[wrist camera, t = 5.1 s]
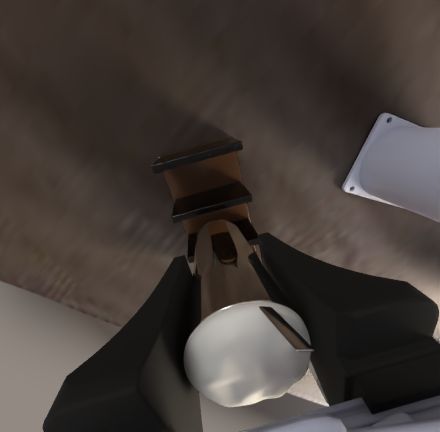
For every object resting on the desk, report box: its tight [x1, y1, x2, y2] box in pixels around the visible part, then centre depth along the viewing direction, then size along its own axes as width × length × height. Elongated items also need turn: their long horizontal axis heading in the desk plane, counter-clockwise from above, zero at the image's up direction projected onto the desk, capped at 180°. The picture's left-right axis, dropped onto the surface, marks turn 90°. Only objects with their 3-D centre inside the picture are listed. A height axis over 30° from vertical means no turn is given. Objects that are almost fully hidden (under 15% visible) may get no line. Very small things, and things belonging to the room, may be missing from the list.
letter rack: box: [152, 137, 260, 263], centre depth 19 cm, size 13×7×5 cm, turn 14°
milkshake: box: [184, 219, 314, 407], centre depth 10 cm, size 5×5×10 cm
